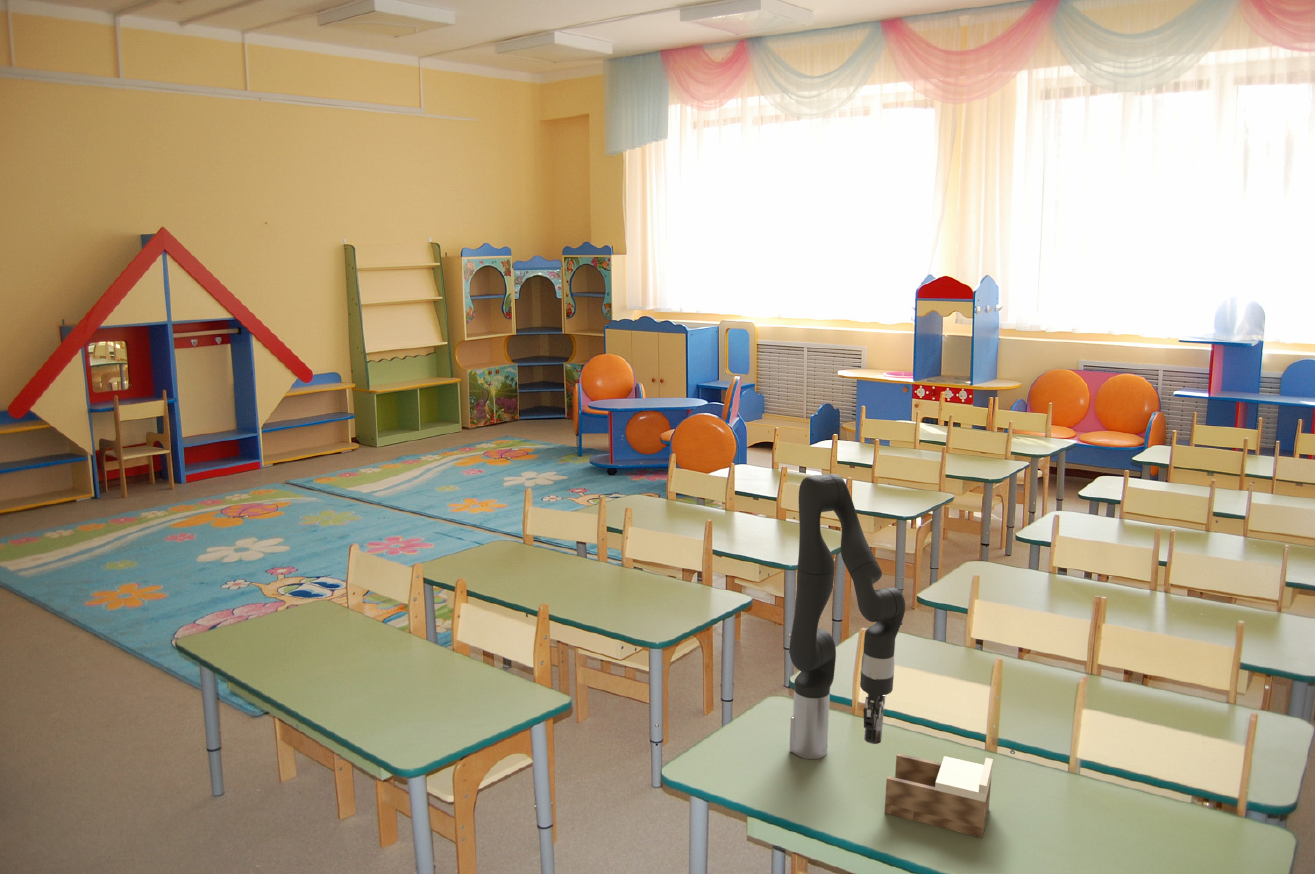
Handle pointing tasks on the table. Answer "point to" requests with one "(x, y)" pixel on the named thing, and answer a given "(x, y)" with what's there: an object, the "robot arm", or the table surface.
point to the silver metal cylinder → (877, 730)
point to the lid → (964, 778)
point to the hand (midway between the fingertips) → (872, 736)
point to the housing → (931, 798)
